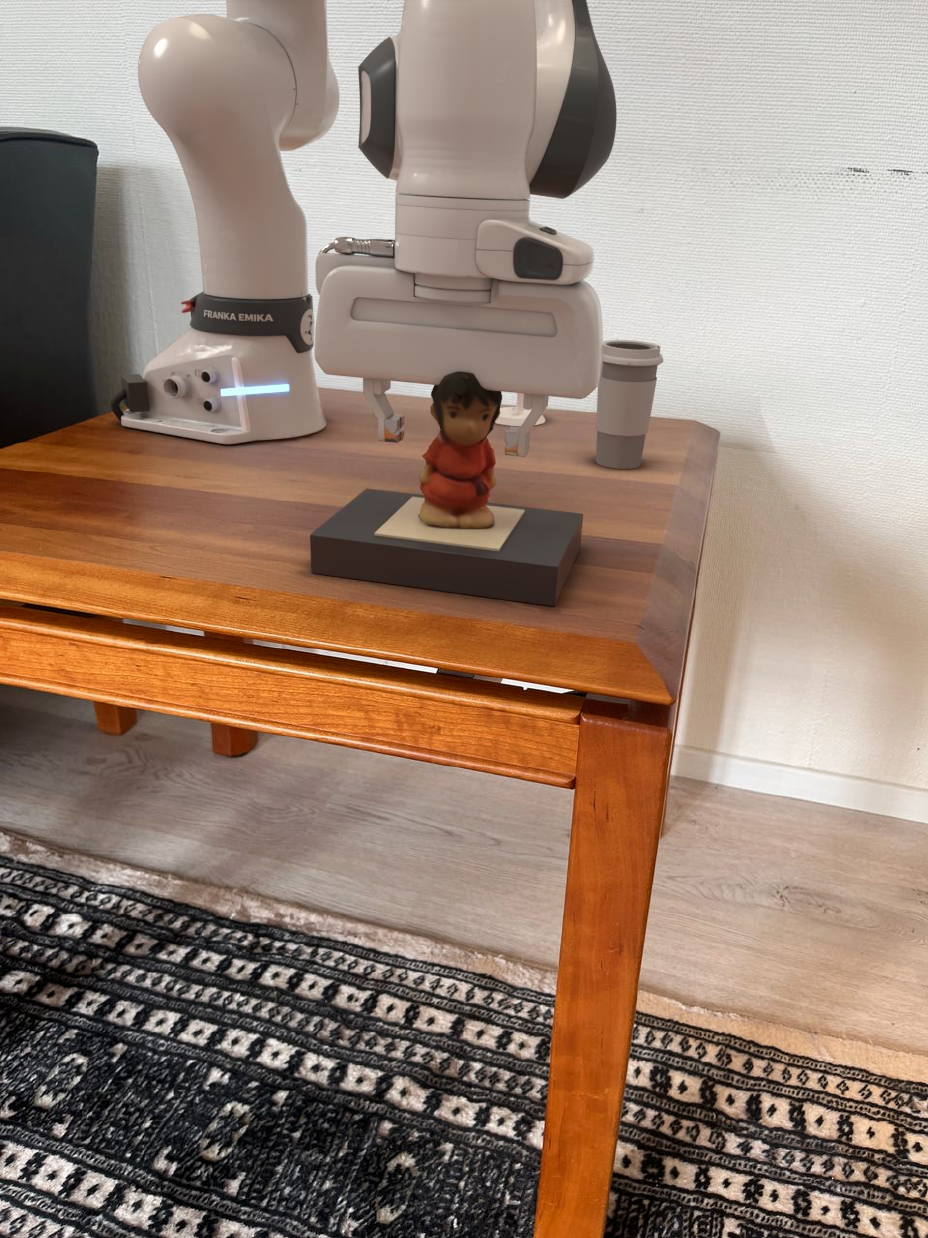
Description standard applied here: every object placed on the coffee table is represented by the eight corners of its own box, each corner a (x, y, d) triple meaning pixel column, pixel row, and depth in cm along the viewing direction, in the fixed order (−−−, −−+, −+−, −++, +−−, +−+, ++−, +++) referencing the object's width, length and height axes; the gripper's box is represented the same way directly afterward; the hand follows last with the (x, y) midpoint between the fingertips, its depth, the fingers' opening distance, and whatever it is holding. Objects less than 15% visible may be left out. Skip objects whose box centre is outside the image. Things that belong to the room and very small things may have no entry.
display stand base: (310, 573, 72) (309, 531, 70) (366, 522, 82) (366, 485, 81) (554, 606, 68) (558, 563, 67) (580, 549, 79) (583, 510, 77)
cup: (649, 475, 99) (664, 352, 94) (582, 469, 100) (594, 347, 95) (651, 457, 105) (665, 341, 100) (589, 451, 106) (599, 336, 101)
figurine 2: (491, 410, 122) (496, 309, 117) (548, 414, 121) (556, 313, 116) (481, 423, 116) (486, 317, 111) (541, 428, 115) (548, 321, 110)
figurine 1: (400, 515, 75) (402, 352, 70) (458, 502, 78) (464, 347, 73) (451, 539, 70) (458, 367, 65) (510, 525, 73) (521, 361, 68)
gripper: (296, 236, 65) (302, 442, 71) (605, 257, 61) (584, 474, 67) (332, 232, 71) (334, 423, 76) (617, 250, 66) (596, 451, 72)
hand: (452, 447), depth 71 cm, fingers open, 8 cm apart
